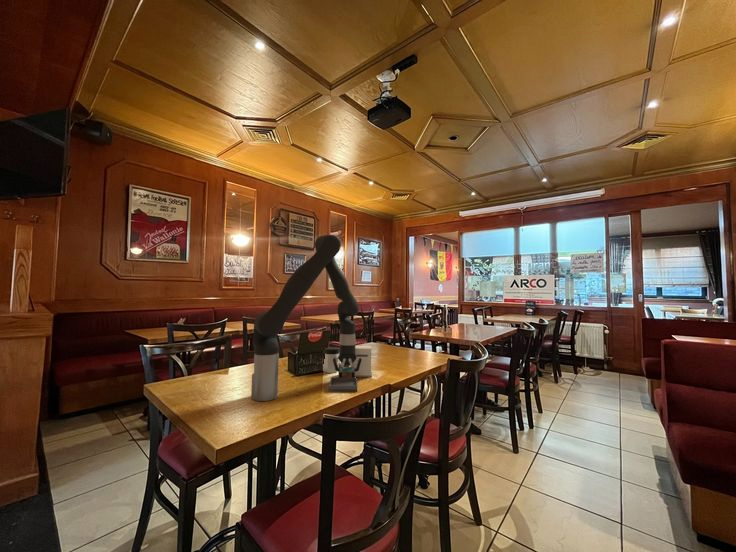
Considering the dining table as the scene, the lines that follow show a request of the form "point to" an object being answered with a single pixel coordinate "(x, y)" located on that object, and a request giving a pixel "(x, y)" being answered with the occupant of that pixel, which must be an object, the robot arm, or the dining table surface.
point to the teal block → (346, 372)
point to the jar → (330, 359)
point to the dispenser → (363, 361)
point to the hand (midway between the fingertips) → (347, 379)
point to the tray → (343, 385)
